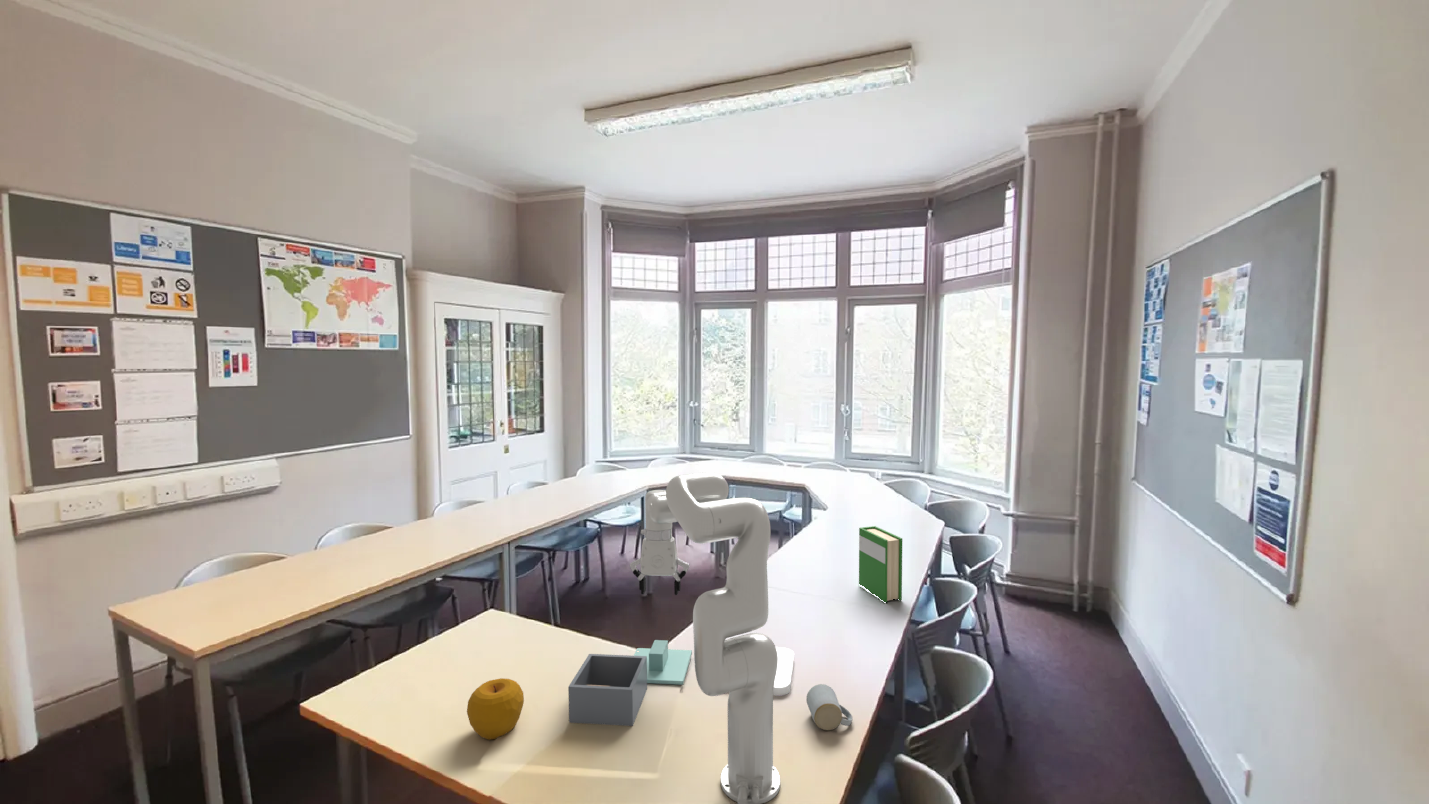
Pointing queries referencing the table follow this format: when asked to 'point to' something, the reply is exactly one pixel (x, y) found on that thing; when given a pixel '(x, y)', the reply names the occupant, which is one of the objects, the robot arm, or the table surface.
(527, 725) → the table surface
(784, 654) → the computer
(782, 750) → the table surface
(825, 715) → the ceramic mug
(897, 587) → the hardback book
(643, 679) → the tub
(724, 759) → the table surface
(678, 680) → the lid
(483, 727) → the apple
